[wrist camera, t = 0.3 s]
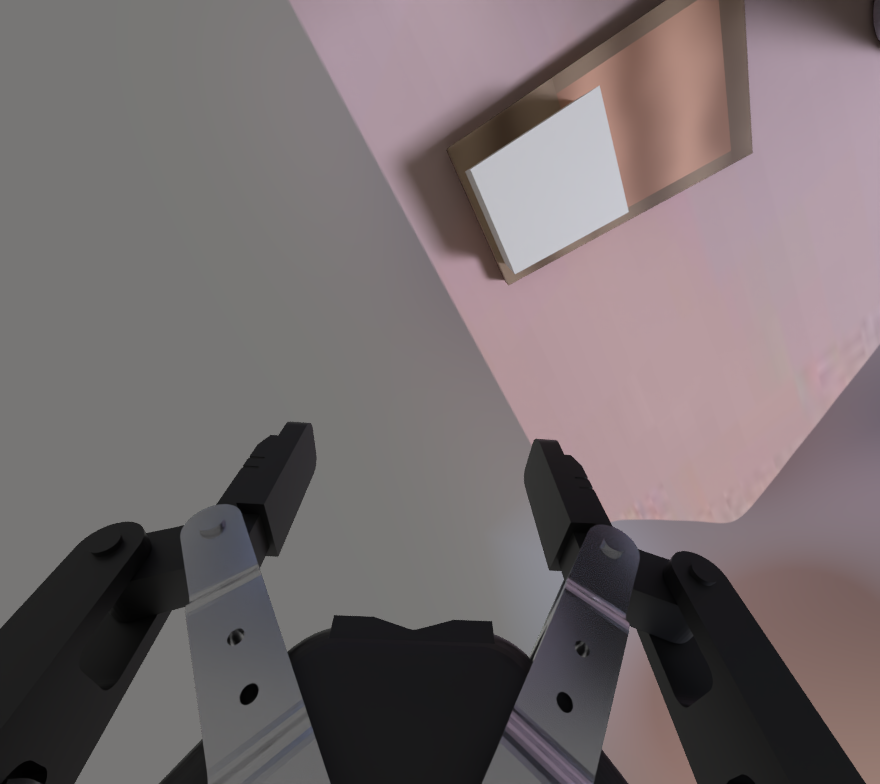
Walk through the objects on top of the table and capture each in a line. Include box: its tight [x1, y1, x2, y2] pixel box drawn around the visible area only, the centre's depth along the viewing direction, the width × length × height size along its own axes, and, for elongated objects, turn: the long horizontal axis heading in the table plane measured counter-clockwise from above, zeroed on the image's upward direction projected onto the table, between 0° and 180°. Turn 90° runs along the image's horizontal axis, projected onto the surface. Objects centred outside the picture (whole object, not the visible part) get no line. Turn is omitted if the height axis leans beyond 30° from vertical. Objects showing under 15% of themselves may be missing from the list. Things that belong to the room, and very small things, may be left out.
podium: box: [447, 0, 753, 285], centre depth 27 cm, size 21×12×2 cm, turn 119°
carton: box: [465, 85, 629, 274], centre depth 26 cm, size 9×8×4 cm
